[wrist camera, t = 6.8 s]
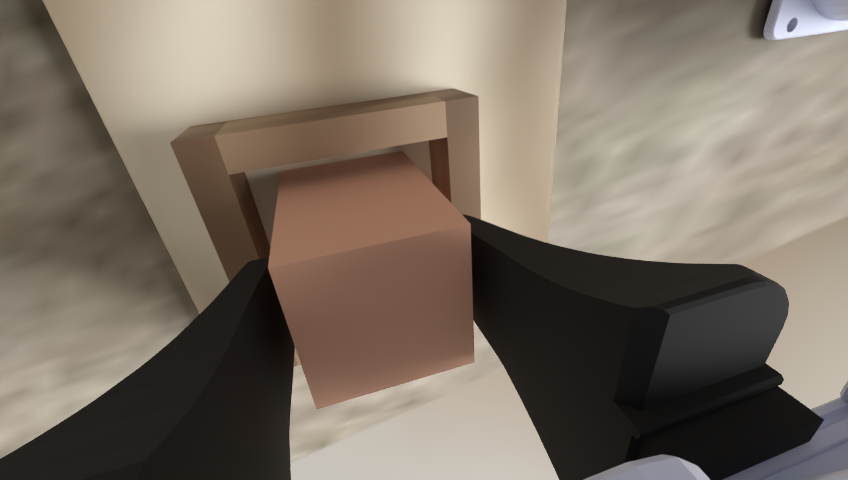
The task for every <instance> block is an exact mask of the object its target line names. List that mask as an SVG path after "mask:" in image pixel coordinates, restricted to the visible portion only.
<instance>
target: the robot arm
mask: <svg viewBox="0 0 848 480" xmlns="http://www.w3.org/2000/svg"><path fill="white" fill-rule="evenodd" d="M844 30H848V0H773V1H772V4H771V7H770V10H769V14H768V17H767V20H766V23H765V27H764V32H763V33H764V37H765V38H766V40H781V39H788V38H795V37H802V36H809V35H816V34H823V33H830V32H837V31H844ZM463 216H464V217H465V218H466V220H467V221H468V222H469V223H470V224H471V255H472V292H473V320H474V321H475V323H476V324H477V326H478V327H479V329H480V330H481V332H482V333H483V335H484V336H485V338H486V339H487V341H488V342H489V344H490V345H491V347H492V348H493V350H494V351H495V353H496V354H497V356H498V357H499V359H500V361H501V362H502V364H503V366H504V367H505V369H506V371H507V373H508V375H509V377H510V379H511V380H512V382H513V384H514V386H515V388H516V390H517V392H518V394H519V396H520V398H521V400H522V402H523V404H524V406H525V408H526V410H527V412H528V414H529V416H530V418H531V420H532V422H533V424H534V426H535V428H536V430H537V432H538V434H539V436H540V439H541V441H542V443H543V445H544V447H545V449H546V451H547V453H548V456H549V458H550V460H551V462H552V464H553V467H554V468H555V471H556V473H557V475H558V478H559V480H848V382H847V383H846V385H845V386H844V388H843V389H842V391H841V393H840V394H841V397H840V398H838V399H835V400H833V401H830V402H828V403H825V404H823V405H821V406H818V407H816V408H813V409H811V410H810V409H809V408H807V407H806V406H805V405H803V404H802V403H800V402H799V401H798V400H796V399H795V398H794V397H792V396H791V395H789V394H788V393H787V392H785V391H784V390H782V389H781V388H780V387H778V385H781V384H782V382H783V380H784V379H783V377H782V375H781V374H780V373H778V372H777V371H776V370H774V369H772V368H771V367H770V366H768V365H767V364H765V362H766V360H767V358H768V356H769V354H770V352H771V350H772V348H773V346H774V344H775V342H776V340H777V338H778V336H779V334H780V332H781V330H782V328H783V326H784V323H785V320H786V318H787V315H788V307H789V301H788V297H787V294H786V291H785V289H784V288H783V287H782V286H780V285H779V284H778V283H776V282H774V281H772V280H770V279H769V278H767V277H764V276H763V275H761V274H758V273H756V272H755V271H753V270H751V269H748V268H747V267H744V266H742V265H738V264H684V263H667V262H654V261H642V260H633V259H624V258H617V257H610V256H604V255H597V254H592V253H586V252H582V251H577V250H573V249H569V248H564V247H560V246H556V245H552V244H549V243H546V242H542V241H539V240H536V239H533V238H529V237H526V236H524V235H521V234H518V233H515V232H512V231H510V230H507V229H504V228H502V227H499V226H496V225H494V224H491V223H489V222H486V221H483V220H481V219H478V218H475V217H472V216H469V215H465V214H464V215H463ZM268 263H269V257H266V258H262V259H257V260H252V261H249V262H248V263H247V264H246V265H245V266H244V267H243V268H242V269H241V270H240V271H239V272H238V273H237V274H236V276H235V277H234V278H233V279H232V280H231V281H230V282H229V284H228V285H227V286H226V287H225V288H224V289H223V290H222V291H221V292H220V294H219V295H218V296H217V297H216V298H215V299H214V300H213V301H212V302H211V303H210V304H209V305H208V306H207V307H206V308H205V309H204V310H203V311H202V312H201V313H200V314H199V315H198V316H197V317H196V318H195V319H194V320H193V321H192V322H191V323H190V324H189V325H188V326H187V327H186V328H185V329H184V330H183V331H182V332H181V333H180V334H179V335H178V336H177V337H176V338H175V339H174V340H172V341H171V342H170V343H169V344H168V345H167V346H166V347H164V348H163V349H162V350H161V351H159V352H158V353H157V354H156V355H155V356H153V357H152V358H151V359H150V360H149V361H147V362H146V363H145V364H144V365H142V366H141V367H140V368H139V369H137V370H136V371H134V372H133V373H132V374H130V375H129V376H128V377H126V378H125V379H123V380H122V381H121V382H119V383H118V384H117V385H115V386H114V387H112V388H111V389H110V390H108V391H107V392H106V393H104V394H103V395H101V396H100V397H99V398H97V399H96V400H94V401H93V402H91V403H90V404H88V405H87V406H85V407H84V408H82V409H81V410H79V411H78V412H76V413H75V414H73V415H72V416H70V417H69V418H67V419H66V420H64V421H62V422H61V423H59V424H58V425H56V426H54V427H53V428H51V429H50V430H48V431H46V432H45V433H43V434H42V435H40V436H38V437H37V438H35V439H34V440H32V441H30V442H29V443H27V444H25V445H23V446H22V447H20V448H18V449H17V450H15V451H13V452H12V453H10V454H8V455H6V456H5V457H3V458H1V459H0V480H291V474H290V445H289V426H290V408H291V395H292V381H293V368H294V353H295V345H294V342H293V339H292V336H291V333H290V330H289V328H288V325H287V322H286V319H285V316H284V313H283V310H282V307H281V304H280V302H279V299H278V296H277V293H276V290H275V287H274V284H273V281H272V278H271V276H270V273H269V270H268Z"/></svg>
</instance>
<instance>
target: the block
mask: <svg viewBox="0 0 848 480" xmlns="http://www.w3.org/2000/svg"><path fill="white" fill-rule="evenodd" d="M268 270H269V273H270V276H271V278H272V281H273V284H274V287H275V290H276V293H277V296H278V299H279V302H280V304H281V307H282V310H283V313H284V316H285V319H286V322H287V325H288V328H289V330H290V333H291V336H292V339H293V342H294V345H295V348H296V351H297V354H298V357H299V359H300V362H301V365H302V368H303V371H304V374H305V377H306V380H307V383H308V385H309V388H310V391H311V394H312V397H313V400H314V403H315V406H316V409H319V408H322V407H326V406H329V405H332V404H336V403H339V402H342V401H346V400H349V399H352V398H356V397H359V396H363V395H366V394H369V393H373V392H376V391H379V390H383V389H386V388H389V387H393V386H396V385H399V384H403V383H406V382H409V381H413V380H416V379H419V378H423V377H426V376H430V375H433V374H436V373H440V372H443V371H446V370H450V369H453V368H456V367H460V366H463V365H466V364H470V363H473V362H474V329H473V292H472V255H471V224H470V223H469V222H468V221H467V220H466V218H465V217H464V216H463V215H462V214H461V213H460V212H459V211H458V210H457V209H456V208H455V207H454V206H453V205H452V203H451V202H450V201H449V200H448V199H447V198H446V197H445V196H444V195H443V194H442V193H441V192H440V191H439V190H438V188H437V187H436V186H435V185H434V184H433V183H432V182H431V181H430V180H429V179H428V178H427V177H426V176H425V175H424V174H423V172H422V171H421V170H420V169H419V168H418V167H417V166H416V165H415V164H414V163H413V162H412V161H411V160H410V159H409V157H408V156H407V155H406V154H405V153H404V152H403V151H399V152H393V153H387V154H381V155H375V156H369V157H363V158H357V159H351V160H345V161H339V162H333V163H327V164H321V165H315V166H309V167H303V168H297V169H291V170H285V171H281V173H280V181H279V188H278V196H277V203H276V211H275V218H274V226H273V233H272V241H271V248H270V256H269V263H268Z"/></svg>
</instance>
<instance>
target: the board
mask: <svg viewBox="0 0 848 480" xmlns="http://www.w3.org/2000/svg"><path fill="white" fill-rule="evenodd" d="M43 2H44V4H45V6H46V8H47V10H48V12H49V14H50V16H51V18H52V20H53V22H54V24H55V26H56V28H57V30H58V32H59V34H60V36H61V38H62V40H63V42H64V44H65V46H66V48H67V50H68V52H69V54H70V56H71V58H72V60H73V62H74V64H75V66H76V68H77V70H78V72H79V74H80V76H81V78H82V80H83V82H84V84H85V86H86V88H87V90H88V92H89V94H90V96H91V98H92V100H93V102H94V104H95V106H96V108H97V110H98V112H99V114H100V116H101V118H102V120H103V122H104V124H105V126H106V128H107V130H108V132H109V134H110V136H111V138H112V140H113V142H114V144H115V146H116V148H117V150H118V152H119V154H120V156H121V158H122V160H123V162H124V164H125V166H126V168H127V170H128V172H129V174H130V176H131V178H132V180H133V182H134V184H135V186H136V188H137V190H138V192H139V194H140V196H141V198H142V200H143V202H144V204H145V206H146V208H147V210H148V212H149V214H150V216H151V218H152V220H153V222H154V224H155V226H156V228H157V230H158V232H159V234H160V236H161V238H162V240H163V242H164V244H165V246H166V248H167V250H168V252H169V254H170V256H171V258H172V260H173V262H174V264H175V266H176V268H177V270H178V272H179V274H180V276H181V278H182V280H183V282H184V284H185V286H186V288H187V290H188V292H189V294H190V296H191V298H192V300H193V302H194V304H195V306H196V308H197V310H198V312H199V314H200V313H201V312H202V311H203V310H204V309H205V308H206V307H207V306H208V305H209V304H210V303H211V302H212V301H213V300H214V299H215V298H216V297H217V296H218V295H219V294H220V292H221V291H222V290H223V289H224V288H225V287H226V286H227V285H228V284H229V282H230V281H231V280H232V279H233V278H234V277H235V276H236V274H237V273H238V272H239V271H240V270H241V269H242V268H243V267H244V266H245V265H246V264H247V263H248V262H249V261H252V260H257V259H262V258H266V257H269V256H270V248H271V241H272V233H273V226H274V218H275V211H276V203H277V196H278V188H279V181H280V173H281V171H285V170H291V169H297V168H303V167H309V166H315V165H321V164H327V163H333V162H339V161H345V160H351V159H357V158H363V157H369V156H375V155H381V154H387V153H393V152H399V151H403V152H404V153H405V154H406V155H407V156H408V157H409V159H410V160H411V161H412V162H413V163H414V164H415V165H416V166H417V167H418V168H419V169H420V170H421V171H422V172H423V174H424V175H425V176H426V177H427V178H428V179H429V180H430V181H431V182H432V183H433V184H434V185H435V186H436V187H437V188H438V190H439V191H440V192H441V193H442V194H443V195H444V196H445V197H446V198H447V199H448V200H449V201H450V202H451V203H452V205H453V206H454V207H455V208H456V209H457V210H458V211H459V212H460V213H461V214H462V215H464V214H465V215H469V216H472V217H475V218H478V219H481V220H483V221H486V222H489V223H491V224H494V225H496V226H499V227H502V228H504V229H507V230H510V231H512V232H515V233H518V234H521V235H524V236H526V237H529V238H533V239H536V240H539V241H542V242H546V243H548V232H549V220H550V207H551V195H552V182H553V170H554V157H555V145H556V132H557V120H558V107H559V95H560V82H561V69H562V57H563V44H564V32H565V19H566V7H567V0H43ZM297 365H301V362H300V359H299V357H298V354H297V351H296V348H295V353H294V366H297Z"/></svg>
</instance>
